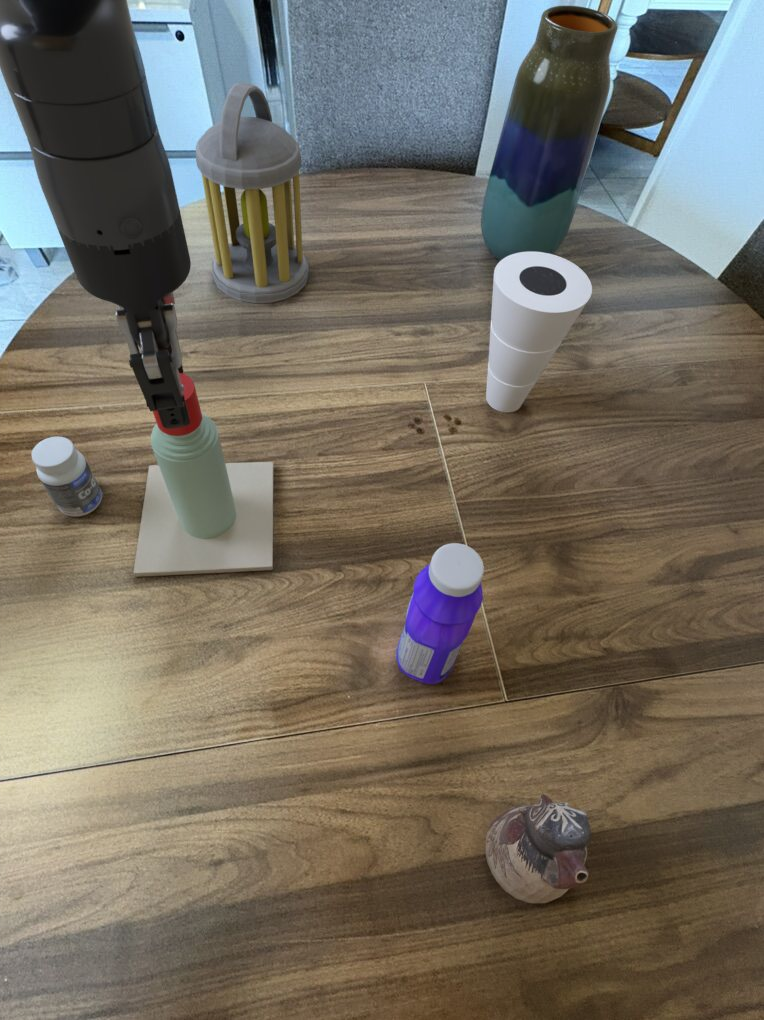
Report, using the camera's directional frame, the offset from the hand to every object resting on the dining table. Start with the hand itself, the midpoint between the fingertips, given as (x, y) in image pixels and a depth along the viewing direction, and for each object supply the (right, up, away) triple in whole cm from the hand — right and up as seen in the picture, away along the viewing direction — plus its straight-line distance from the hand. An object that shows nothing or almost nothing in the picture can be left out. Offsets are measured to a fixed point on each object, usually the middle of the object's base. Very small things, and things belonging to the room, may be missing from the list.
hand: (173, 398), depth 52 cm
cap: (0, -2, +2) cm, 2 cm away
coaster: (-1, -10, +15) cm, 18 cm away
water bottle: (-1, -10, +14) cm, 18 cm away
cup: (+34, +5, +29) cm, 45 cm away
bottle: (+22, -24, +8) cm, 33 cm away
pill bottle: (-15, -9, +16) cm, 23 cm away
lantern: (0, +26, +40) cm, 48 cm away
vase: (+40, +33, +48) cm, 70 cm away
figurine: (+30, -38, -1) cm, 49 cm away
